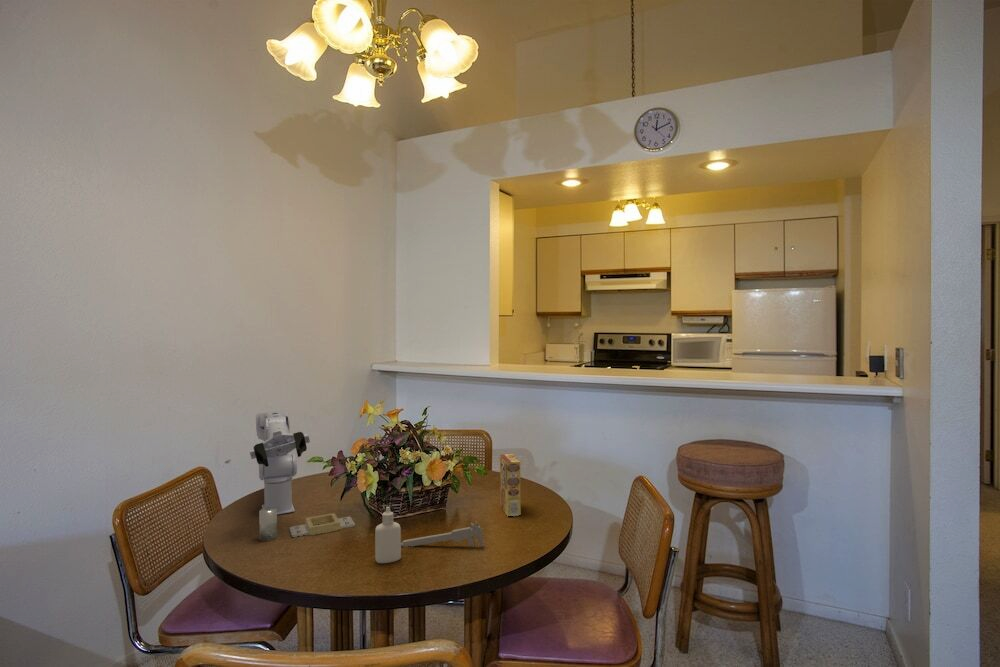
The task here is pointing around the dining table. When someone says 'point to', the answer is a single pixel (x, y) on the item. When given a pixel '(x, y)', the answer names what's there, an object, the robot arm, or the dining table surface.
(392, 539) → the eye dropper bottle
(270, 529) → the translucent cylinder
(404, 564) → the dining table surface
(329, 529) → the cream tabbed socket tray
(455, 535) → the caliper
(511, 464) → the candy box
